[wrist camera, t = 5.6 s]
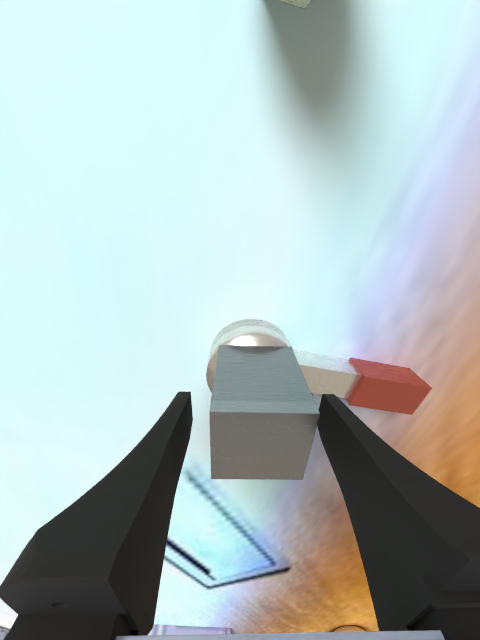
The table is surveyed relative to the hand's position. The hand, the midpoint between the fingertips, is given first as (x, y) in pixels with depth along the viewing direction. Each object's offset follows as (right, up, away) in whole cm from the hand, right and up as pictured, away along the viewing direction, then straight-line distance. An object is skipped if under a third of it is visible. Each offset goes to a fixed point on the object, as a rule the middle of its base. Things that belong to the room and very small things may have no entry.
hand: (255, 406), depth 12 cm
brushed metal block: (0, +1, +2) cm, 2 cm away
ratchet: (+5, +1, +5) cm, 7 cm away
